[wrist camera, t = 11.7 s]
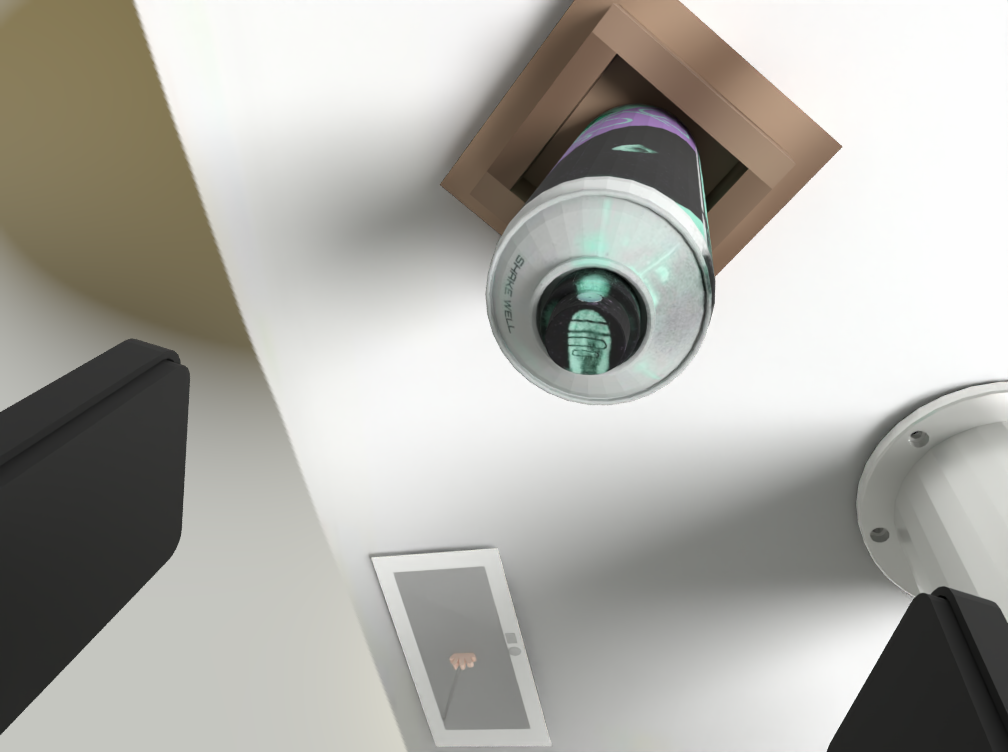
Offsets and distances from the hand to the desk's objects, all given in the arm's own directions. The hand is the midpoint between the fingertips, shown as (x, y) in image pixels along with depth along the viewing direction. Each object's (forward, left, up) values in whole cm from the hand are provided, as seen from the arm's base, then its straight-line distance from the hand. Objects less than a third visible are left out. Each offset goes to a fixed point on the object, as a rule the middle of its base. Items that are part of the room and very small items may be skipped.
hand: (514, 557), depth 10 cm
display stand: (0, 0, -29) cm, 29 cm away
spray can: (0, 0, -28) cm, 28 cm away
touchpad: (-11, +29, -30) cm, 43 cm away
